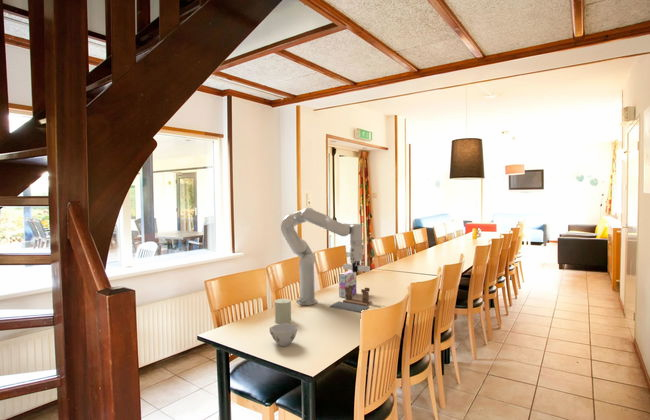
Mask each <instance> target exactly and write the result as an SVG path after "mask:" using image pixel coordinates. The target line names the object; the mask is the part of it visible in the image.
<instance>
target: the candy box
mask: <svg viewBox="0 0 650 420" xmlns="http://www.w3.org/2000/svg"><path fill="white" fill-rule="evenodd" d="M338 280H339V281H338V284H339V286H338V288H339V289H338V291H339V294H338V295H339V298H344V299H346V290H345V287H348V285H352V286H353V289H352V296H354V295H357V272H353V271H352V270H349V269H348V270H347V271H344V272H341V273H340V272H339V274H338Z"/></svg>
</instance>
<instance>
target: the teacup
mask: <svg viewBox="0 0 650 420" xmlns="http://www.w3.org/2000/svg"><path fill="white" fill-rule="evenodd" d="M297 331H298V326H297V325H296V324H293V323H283V324H275V325H273V326H271V327H269V334H270V336H271V337H272V339H273V340H274V342H275V343H276V344H277V345H278V346H280V347H286V346H290V345H291V343H292V342H293V341H294V340H295V338H296V335H297Z"/></svg>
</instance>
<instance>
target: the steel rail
mask: <svg viewBox="0 0 650 420" xmlns="http://www.w3.org/2000/svg"><path fill="white" fill-rule="evenodd" d="M342 269H343V270H348V271H349V270H351V271H352V263H343V264H342ZM357 272H367V273H368V272H371V266H369V265H361V264H360V265H357Z"/></svg>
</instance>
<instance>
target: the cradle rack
mask: <svg viewBox="0 0 650 420" xmlns="http://www.w3.org/2000/svg"><path fill="white" fill-rule="evenodd" d="M352 289H353V286H352V285H348V287H345V290H346V298H344V299H343V300H342V302H345V303H350V304H356V305H362V306H368V307H369V305H371V304H373V301H371V300H370V298H369V297H370V296H369V294H370V287H364V289H363V288H362V289H360V291H361V294H362V297H361V298H362V299H360V298H354V297H353V295H352Z"/></svg>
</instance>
